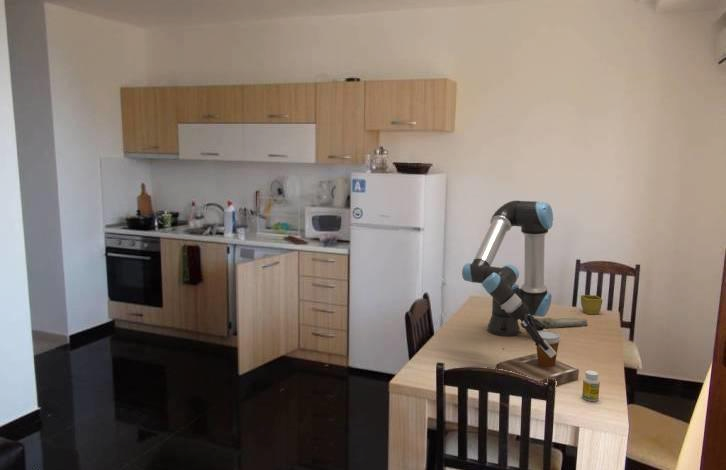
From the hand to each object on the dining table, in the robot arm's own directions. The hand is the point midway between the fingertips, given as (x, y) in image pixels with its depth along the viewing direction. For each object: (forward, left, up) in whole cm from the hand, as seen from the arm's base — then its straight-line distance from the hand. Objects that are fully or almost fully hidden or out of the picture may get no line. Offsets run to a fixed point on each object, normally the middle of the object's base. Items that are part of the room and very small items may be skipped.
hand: (553, 349), depth 208 cm
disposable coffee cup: (0, -3, -7) cm, 8 cm away
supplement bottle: (+3, +20, -11) cm, 23 cm away
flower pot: (-87, -49, -11) cm, 101 cm away
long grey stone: (-52, -44, -12) cm, 69 cm away
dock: (+4, -3, -11) cm, 12 cm away
